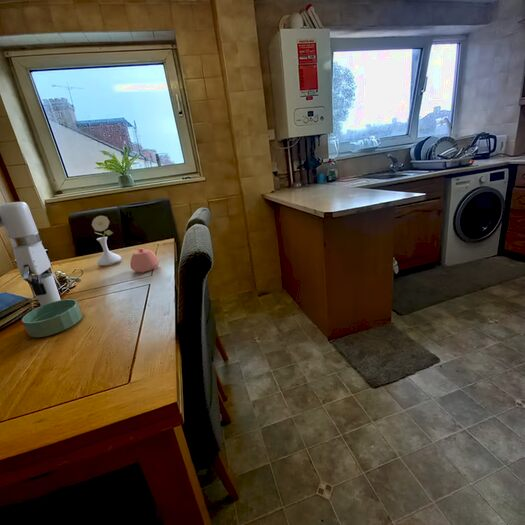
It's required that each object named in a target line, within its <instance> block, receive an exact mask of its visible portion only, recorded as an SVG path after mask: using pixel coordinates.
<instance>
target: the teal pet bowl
mask: <svg viewBox="0 0 525 525" xmlns="http://www.w3.org/2000/svg"><path fill="white" fill-rule="evenodd" d="M82 318H83V312H82V310H81V307H80V304H79V301H78V300H77V299H74V298H66V299H61V300H59V301H55V302H51V303H48V304H45V305H43V306H41V305H40V306H38V307H35V308H34V309H32V310H30V311H28V312H27V313H25V315H24V316H23V317H22V318H21V323H22V325H23V327H24V329H25V331H26V333H27V335H28V336H29V337H30V338H43V337H49V336H52V335H56V334H59V333H61V332H63V331H65V330H67V329H69V328H71V327H73V326H75V325H76V324H77V323H79V322H80V321H81V320H82Z"/></svg>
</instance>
